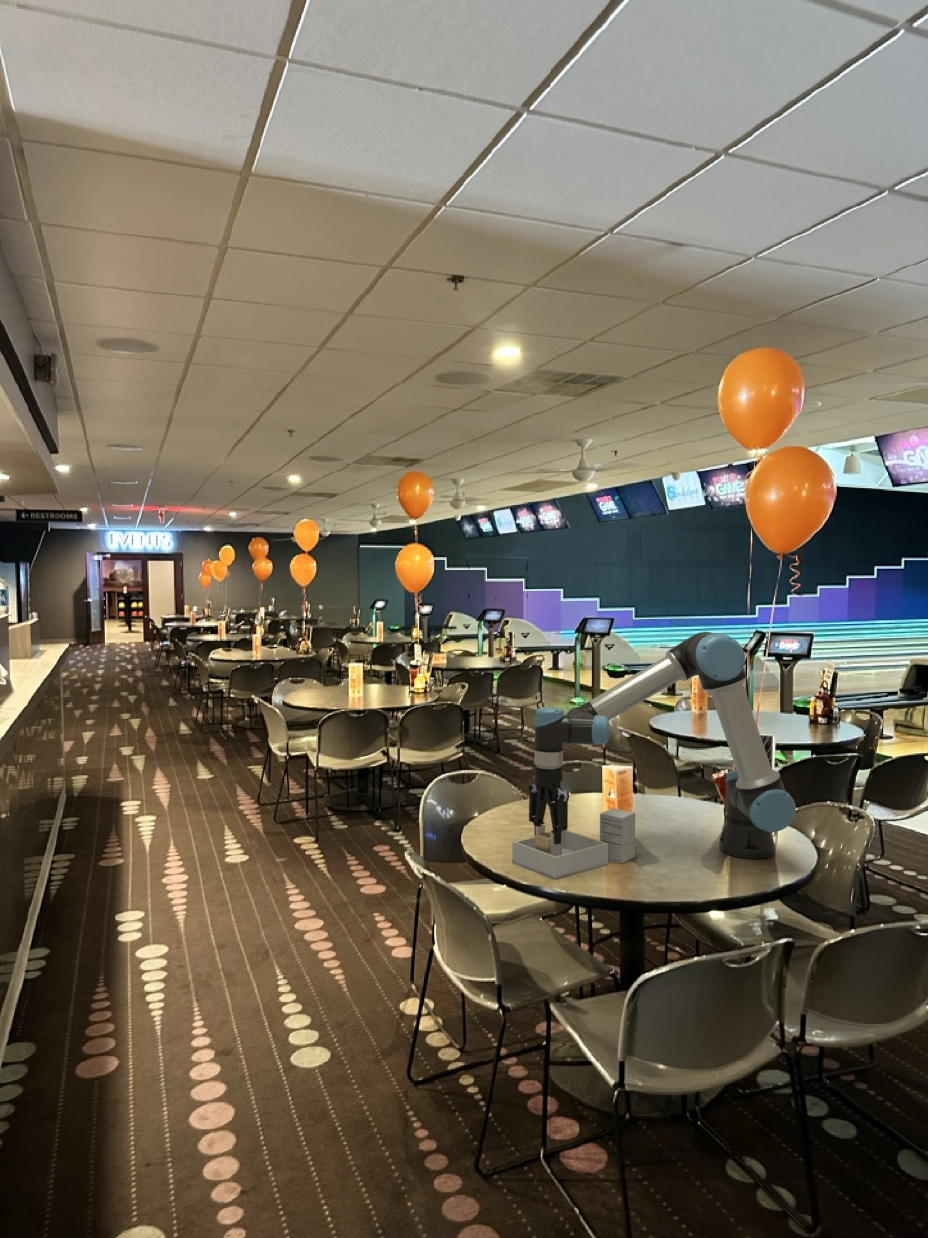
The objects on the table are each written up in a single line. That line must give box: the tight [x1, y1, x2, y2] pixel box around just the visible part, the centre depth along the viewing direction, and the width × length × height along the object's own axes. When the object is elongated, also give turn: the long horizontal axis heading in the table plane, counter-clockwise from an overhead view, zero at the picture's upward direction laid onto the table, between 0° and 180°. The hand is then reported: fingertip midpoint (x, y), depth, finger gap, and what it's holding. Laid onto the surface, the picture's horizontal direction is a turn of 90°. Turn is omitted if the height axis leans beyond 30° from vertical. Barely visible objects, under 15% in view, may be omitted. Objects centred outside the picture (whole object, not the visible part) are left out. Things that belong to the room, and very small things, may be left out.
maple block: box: [534, 831, 562, 856], centre depth 220 cm, size 5×5×5 cm
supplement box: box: [599, 807, 636, 864], centre depth 228 cm, size 7×7×13 cm
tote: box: [511, 829, 609, 880], centre depth 223 cm, size 17×20×6 cm
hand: (547, 852), depth 220 cm, fingers closed on maple block, 5 cm apart
